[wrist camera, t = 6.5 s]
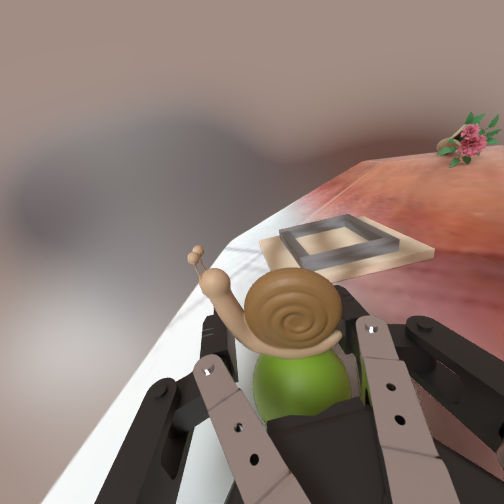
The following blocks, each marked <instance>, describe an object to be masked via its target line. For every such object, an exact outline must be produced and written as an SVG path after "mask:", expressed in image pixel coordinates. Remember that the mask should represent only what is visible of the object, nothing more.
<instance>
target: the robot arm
mask: <svg viewBox="0 0 504 504" xmlns="http://www.w3.org/2000/svg"><path fill="white" fill-rule="evenodd" d="M327 280H328V279H327ZM328 281H329V280H328ZM334 287H335V288H336V290H337V291H338V293H339V296H340V298H341V302H342V317H341V320H340V323H339V325H338V327H337V328H336V330H340V332H341V334H342V338H341V339H340V341H339V342H338V343H339V344H340V346H341V348H342V349H343V351H344V352H345V354H346V355H347V354H351V353H353V354H354V356H355V357H356V369H357V376H358V383H359V389H360V396H361V399H360V397H356V398H352V399H348V400H344V401H340V402H337V403H335V404H333V405H332V406H330V407H329V408H327V409H326V410H324V411H322V412H321V413H319V414H317V415H315V416H308V415H288V416H284V417H280V418H276V419H272V420H269V421H266V423H267V429H268V430H265V429H264V427H263V425H262V424H261V422H260V420H259V419H258V417H257V415H256V414H255V412H254V410H253V408H252V407H251V405H250V403H249V402H248V400H247V398H246V397H245V395H244V393H243V392H242V390H241V389H240V388H239V389H238V387H237V385H236V384H235V383H236V382H238V371H237V359H236V348H235V337H234V336H233V335H232V333H231V332H230V331H229V330H228V328H227V327H226V326H225V324H224V323H223V321H222V320H221V318H220V317H219V315H218V314H217V312H216V310H215V308H214V315H210V316H207V317H206V319H205V321H204V322H203V329H202V340H201V351H200V360H198V362H197V363H196V364H195V366H194V369H193V371H192V372H191V373H190V374H189V375H187V376H185V377H184V378H182V379H180V380H178V381H176V382H175V380H174V379H172V378H163V379H161V380H159V381H157V382H156V383H154V384H153V385H152V386H151V387H150V388H149V390H148V391H147V393H146V395H145V397H144V399H143V401H142V404H141V406H140V408H139V410H138V412H137V414H136V416H135V418H134V420H133V423H132V425H131V427H130V429H129V431H128V433H127V435H126V437H125V440H124V442H123V444H122V446H121V448H120V450H119V452H118V454H117V457H116V459H115V461H114V463H113V465H112V467H111V469H110V471H109V474H108V476H107V478H106V480H105V482H104V484H103V486H102V488H101V490H100V493H99V495H98V497H97V499H96V501H95V503H94V504H176V500H177V496H178V492H179V488H180V484H181V480H182V476H183V472H184V468H185V464H186V460H187V456H188V452H189V448H190V444H191V440H192V436H193V432H194V428H195V426H197V425H198V424H200V423H201V422H203V421H204V420H206V419H207V418H209V417H210V419H211V421H212V424H213V426H214V429H215V431H216V434H217V436H218V439H219V441H220V444H221V446H222V449H223V451H224V454H225V456H226V459H227V461H228V464H229V466H230V469H231V471H232V474H233V476H234V482H233V484H232V486H231V489H230V491H229V493H228V496H227V498H226V500H225V503H224V504H504V482H503V481H502V480H500V479H499V478H497V477H495V476H494V475H492V474H491V473H489V472H487V471H486V470H484V469H483V468H481V467H479V466H478V465H476V464H475V463H473V462H471V461H470V460H468V459H466V458H465V457H463V456H462V455H460V454H458V453H457V452H455V451H454V450H452V449H450V448H449V447H447V446H446V445H444V444H442V443H441V442H439V441H437V440H436V439H434V438H433V437H431V434H430V431H429V428H428V425H427V423H426V420H425V417H424V414H423V412H422V409H421V406H420V403H419V400H418V398H417V395H416V392H415V389H414V386H413V384H412V381H411V378H410V376H411V377H412V378H413V379H414V380H415V381H416V382H418V383H419V384H420V385H421V386H422V387H423V388H424V389H425V390H426V391H427V392H429V393H430V394H431V395H432V396H433V397H434V398H435V399H436V400H437V401H439V402H440V403H441V404H442V405H443V406H444V407H445V408H446V409H447V410H449V411H450V412H451V413H452V414H453V415H454V416H455V417H456V418H457V419H459V420H460V421H461V422H462V423H463V424H464V425H465V426H466V427H467V428H469V429H470V430H471V431H472V432H473V433H474V434H475V435H476V436H477V437H479V438H480V439H481V440H482V441H483V442H484V443H485V444H486V445H487V446H489V447H490V448H491V449H492V450H493V451H494V452H495V453H496V454H497V459H498V461H499V464H500V466H501V467H502V469H503V470H504V362H503V361H502V360H500V359H498V358H497V357H495V356H493V355H492V354H490V353H488V352H487V351H485V350H483V349H482V348H480V347H478V346H477V345H475V344H474V343H472V342H470V341H469V340H467V339H465V338H464V337H462V336H460V335H459V334H457V333H455V332H454V331H452V330H450V329H449V328H447V327H445V326H444V325H442V324H440V323H439V322H437V321H435V320H434V319H431V318H429V317H425V316H412V317H410V318H408V319H407V321H406V325H404V324H386V323H385V322H384V321H383V320H382V319H380V318H378V317H375V316H370V315H369V314H368V313H367V311H366V310H365V309H364V308H363V307H362V306H361V305H360V304H359V303H358V302H357V301H356V300H355V298H354V297H353V296H352V295H351V294H350V293H349V292H348V291H347V290H346V289H345V288H343V287H341V286H339V285H335V286H334ZM438 361H440V362H441V363H442V364H444V365H445V366H446V367H448V368H449V369H450V370H452V371H453V372H455V373H456V374H457V375H458V376H459V377H458V376H457V375H456V374H454V373H453V372H452V371H450V370H449V369H448V368H446V367H445V366H444V365H442V364H441V363H440V362H438Z"/></svg>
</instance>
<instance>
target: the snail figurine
mask: <svg viewBox="0 0 504 504" xmlns="http://www.w3.org/2000/svg"><path fill="white" fill-rule="evenodd" d="M203 254H204V249H203V247H201V246H195V247H194V248H193V252H191V253H189V255H188V262H189V263H190V264H192V265H194V266H195V269H196V271H197V274H198V276H199V278H200V279H199V285H200V287H201V289H202V292H203V293H204V294H205V295H206V296H207V297H208V298H209V299H210V300H211V302H212V304H213V306H214V308H215V310H216V312H217V314H218V315H219V317H220V318H221V320H222V321H223V323H224V324H225V326H226V327H227V328H228V330H229V331H230V332H231V333H232V335H233V336H234V337H235V338H236V339H237V340H238V341H239V342H240V343H241V344H243V345H244V346H245V347H246V348H248V349H250V350H252V351H254V352H257V353H260V354H261V355H260V356H259V358H258V360H257V363H256V366H255V369H254V374H253V394H254V399H255V403H256V406H257V408H258V411H259V413H260V415H261V417H262V418H263V420H264V421H265V423H266V421H269V420H272V419H276V418H280V417H284V416H288V415H308V416H315V415H317V414H319V413H321V412H322V411H324V410H326V409H327V408H329V407H330V406H332V405H333V404H335V403H337V402H340V401H344V400H348V399H351V387H350V381H349V377H348V374H347V372H346V369H345V367H344V365H343V363H342V361H341V360H340V358H339V357H338V356H337V354H336V353H335V352H334V351H333V350H332V349H331V348H332V347H333V346H334V345H336V344H337V343H338V342H339V341H340V339H341V338H342V334H341V332H340V330H336V328H337V327H338V325H339V323H340V320H341V317H342V302H341V298H340V296H339V293H338V291H337V290H336V288H335V287H334V286H333V284H332V283H331V282H330V281H328V280H327V279H326V278H325V277H324V276H322V275H320V274H318V273H316V272H314V271H311V270H308V269H304V268H297V267H289V268H281V269H276V270H274V271H271V272H268V273H266V274H265V275H263V276H262V277H260V278H259V279H258V280H257V281H256V282H255V283H254V284H253V285H252V286H251V288H250V289H249V291H248V293H247V296H246V298H245V303H244V310H243V309H242V307H241V306H240V304H239V303H238V301H237V300H236V298H235V296H234V295H233V293H232V291H231V289H230V278H229V276H228V275H227V274H226V273H225V272H224V271H223V270H221V269H217V268H211V269H208V270H206V269H205V268H204V266H203V264H202V261H201V256H203ZM199 261H200V263H201V265H202V268H203V270H204V271H205V272H204V273H203V274H202V275H200V274H199V272H198V270H197V267H196V264H197V263H198V262H199ZM266 424H267V423H266Z"/></svg>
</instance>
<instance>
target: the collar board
mask: <svg viewBox="0 0 504 504" xmlns="http://www.w3.org/2000/svg"><path fill="white" fill-rule="evenodd" d="M279 234H280V236H276V237H271V238H267V239H263V240H259V244H260V248H261V250H262V253H263V255H264V257H265V259H266V262H267V264H268V266H269V269H270V271H274V270H276V269H281V268H289V267H297V268H304V269H308V270H311V271H314V272H316V273H318V274H320V275H322V276H324V277H325V278H326V279H328V280H329V281H330V282H331V283H333V282H337V281H342V280H346V279H350V278H354V277H358V276H362V275H366V274H370V273H375V272H379V271H383V270H387V269H391V268H395V267H399V266H403V265H407V264H412V263H416V262H420V261H424V260H428V259H432V258H433V257H434V251H435V249H434V248H432V247H430V246H427V245H425V244H423V243H421V242H419V241H416V240H414V239H412V238H410V237H408V236H405V235H403V234H401V233H399V232H397V231H395V230H392V229H390V228H388V227H386V226H384V225H381V224H379V223H377V222H375V221H373V220H370V219H368V218H366V217H364V216H362V217H358V218H355V217H353V216H351V215H349V214H346V215H342V216H337V217H333V218H329V219H324V220H320V221H316V222H311V223H307V224H303V225H298V226H294V227H290V228H285V229H281V230H279Z"/></svg>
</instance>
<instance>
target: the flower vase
mask: <svg viewBox="0 0 504 504" xmlns="http://www.w3.org/2000/svg"><path fill="white" fill-rule="evenodd" d="M484 115H485V114H482V115H478V116H476V117H474V118H473V114H472V112H470V114H469V115H468V117H467V119H466V122H465V125H464V126H462V127H461V128H460V129H459V130H458V131H457V132H456V133H455V134H454V135H453V136H452V137H449V138H446V139H443V140H442V141H440V142H439V143H438V145H437V151H438V152H439V153H438V154H437V155H443V154H446V153H449V152H455V151H456V147H459V149H458V152H460V153H461V152H462V151H463V155H462V156H463V157H462V159H463V161H464V162H465V163H467V164H469V163H470V161H471V158H470V155H471V156H472V155H473V156H474V155H475V154H476V155H478V156H479V154H480V152H482V150H481V149H485V146H486V144H496V143H499V142H498V141H497V140H496V139H494V138H488V137H491V136H493V135H495V134H497V133H498V132H499V131H500V130H501V129H499V130H495V131H492V132H489V133H487V134H486V135H485V136H486V137H487V138H484V136H483V135H481V134H484V133H485V132H484V131H485V130H483V129H481V128H479V127H480V126H479V124H480V120H481V119H482V118H483V117H484ZM497 121H498V115H497V116H496V117H495V118H494V119H493V120H492V122H491V123H490V124H489V126H488V127H489V128H491V127H494V126H495V125H496V123H497ZM468 123H470V124H473V125H470V124H469V125H467V124H468ZM478 135H481V136H479V137H478ZM459 156H460V155H459ZM459 162H460V160H459V158H454V159H453V161H452V162H451V164H450V167H453V166H455V165H456V164H458V163H459ZM450 167H449V168H450Z"/></svg>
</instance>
